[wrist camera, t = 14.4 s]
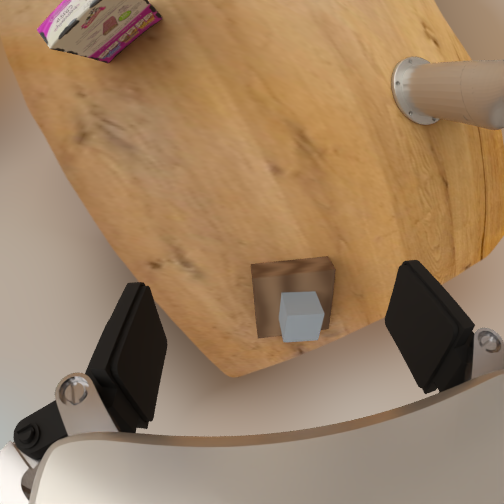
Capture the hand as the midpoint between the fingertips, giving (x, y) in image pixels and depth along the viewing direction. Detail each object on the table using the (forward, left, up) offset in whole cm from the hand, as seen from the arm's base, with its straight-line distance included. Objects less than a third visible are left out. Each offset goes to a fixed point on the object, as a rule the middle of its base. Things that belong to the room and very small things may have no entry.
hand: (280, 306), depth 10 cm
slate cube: (-8, +25, -30) cm, 40 cm away
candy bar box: (+18, -23, -35) cm, 45 cm away
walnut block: (-8, +26, -35) cm, 44 cm away
